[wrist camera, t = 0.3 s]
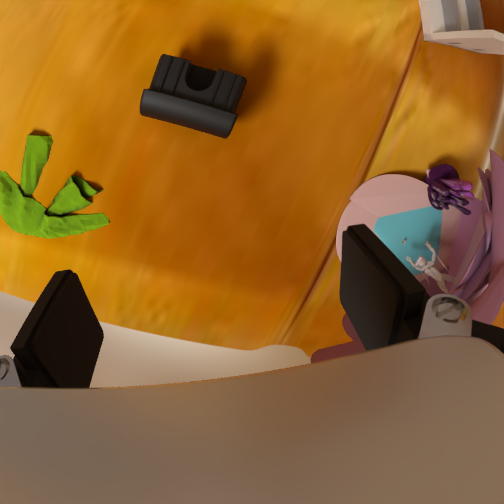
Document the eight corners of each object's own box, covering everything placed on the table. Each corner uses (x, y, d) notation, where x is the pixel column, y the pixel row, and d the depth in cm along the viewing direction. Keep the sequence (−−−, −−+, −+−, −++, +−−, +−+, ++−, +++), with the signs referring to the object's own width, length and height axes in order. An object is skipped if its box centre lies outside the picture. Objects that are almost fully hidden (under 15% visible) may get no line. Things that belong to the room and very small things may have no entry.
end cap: (147, 112, 34) (134, 117, 28) (165, 58, 31) (156, 51, 26) (225, 134, 37) (228, 143, 31) (245, 81, 34) (252, 79, 28)
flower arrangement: (363, 112, 42) (473, 95, 15) (481, 164, 43) (605, 204, 16) (300, 317, 54) (318, 455, 28) (413, 338, 55) (472, 449, 29)
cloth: (-20, 194, 35) (-29, 200, 33) (50, 78, 30) (42, 78, 28) (65, 277, 44) (60, 285, 42) (152, 178, 39) (148, 184, 37)
